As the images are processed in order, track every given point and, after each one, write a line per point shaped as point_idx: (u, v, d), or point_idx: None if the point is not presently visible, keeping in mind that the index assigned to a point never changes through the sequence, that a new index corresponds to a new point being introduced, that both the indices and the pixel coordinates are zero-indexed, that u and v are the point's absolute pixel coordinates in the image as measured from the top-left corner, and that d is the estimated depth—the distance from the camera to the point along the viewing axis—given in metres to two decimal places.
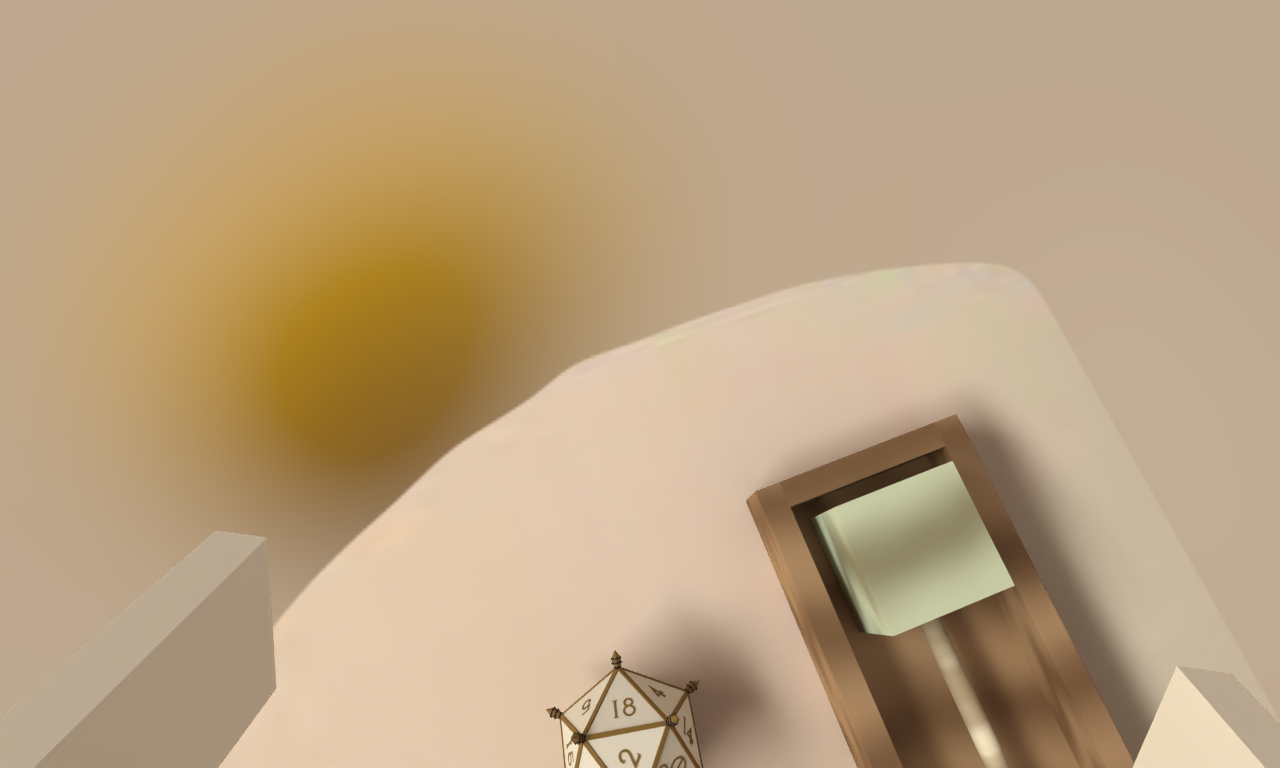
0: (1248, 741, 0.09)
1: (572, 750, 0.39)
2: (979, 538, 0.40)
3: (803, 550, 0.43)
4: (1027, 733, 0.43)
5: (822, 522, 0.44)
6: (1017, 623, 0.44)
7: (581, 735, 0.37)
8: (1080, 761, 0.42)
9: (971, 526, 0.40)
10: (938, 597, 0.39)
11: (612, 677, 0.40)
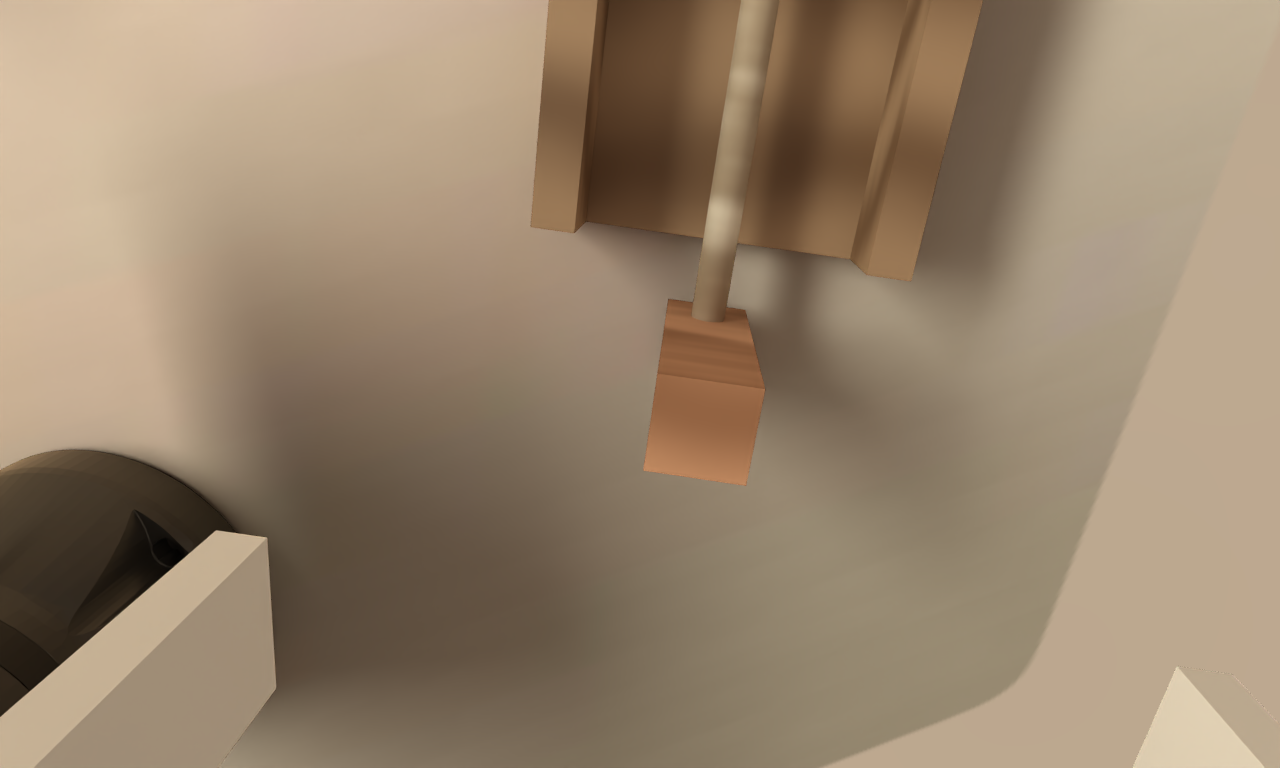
0: (1249, 740, 0.09)
1: None
2: None
3: None
4: None
5: None
6: None
7: None
8: None
9: None
10: None
11: None
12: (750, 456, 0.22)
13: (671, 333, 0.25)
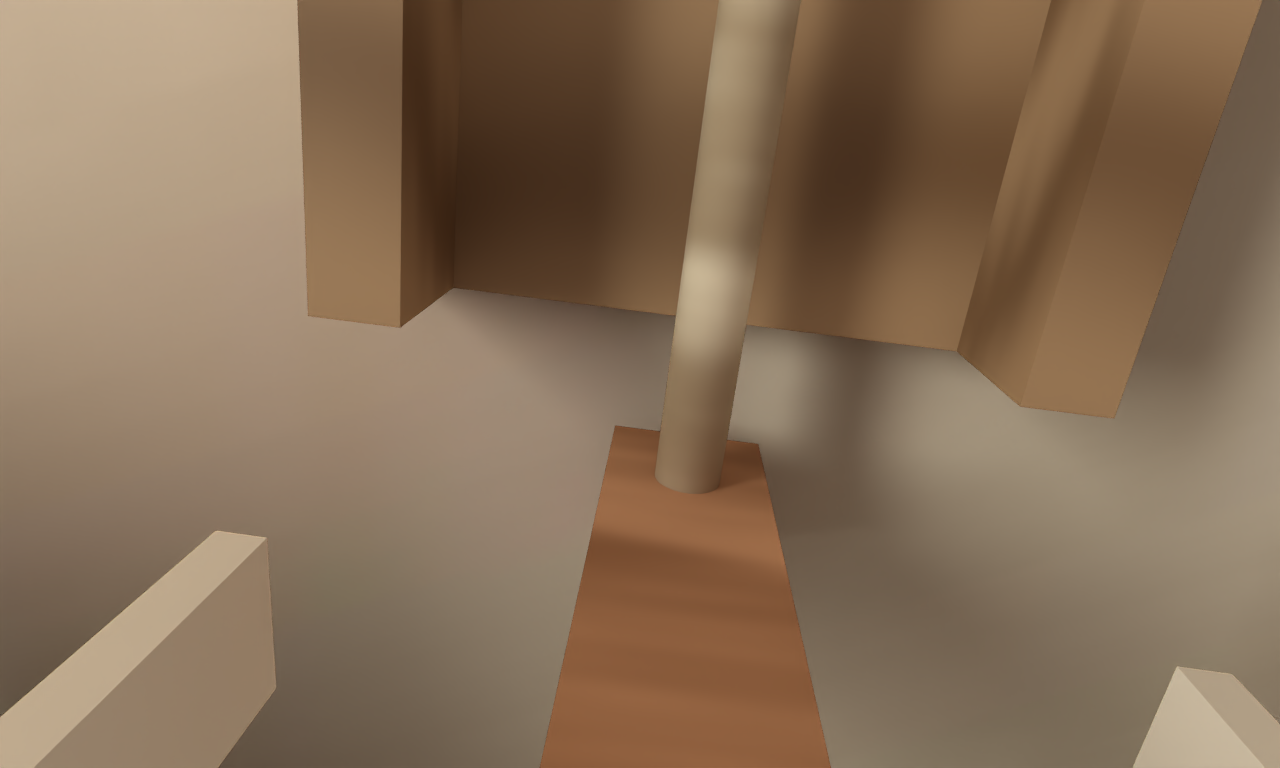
0: (1250, 741, 0.09)
1: None
2: None
3: None
4: None
5: None
6: None
7: None
8: None
9: None
10: None
11: None
12: None
13: (606, 552, 0.11)
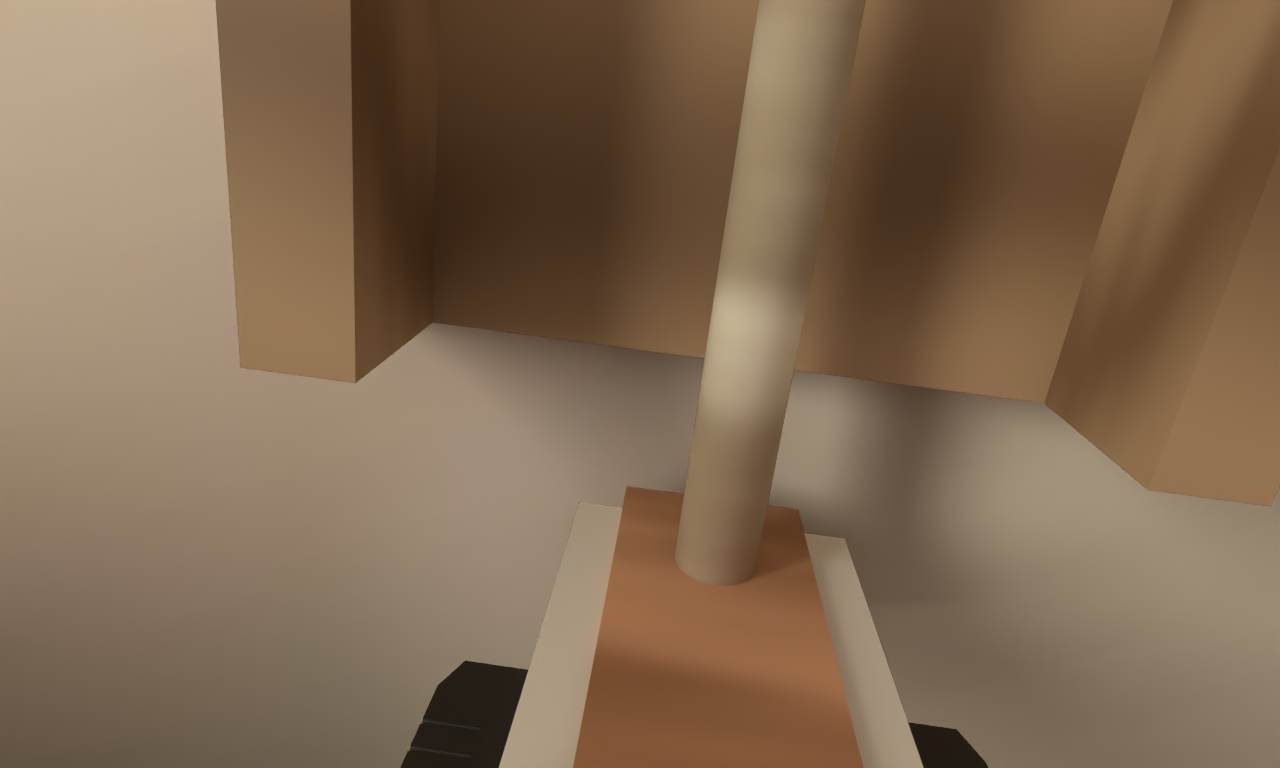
0: (817, 578, 0.12)
1: None
2: None
3: None
4: None
5: None
6: None
7: None
8: None
9: None
10: None
11: None
12: None
13: (613, 681, 0.09)
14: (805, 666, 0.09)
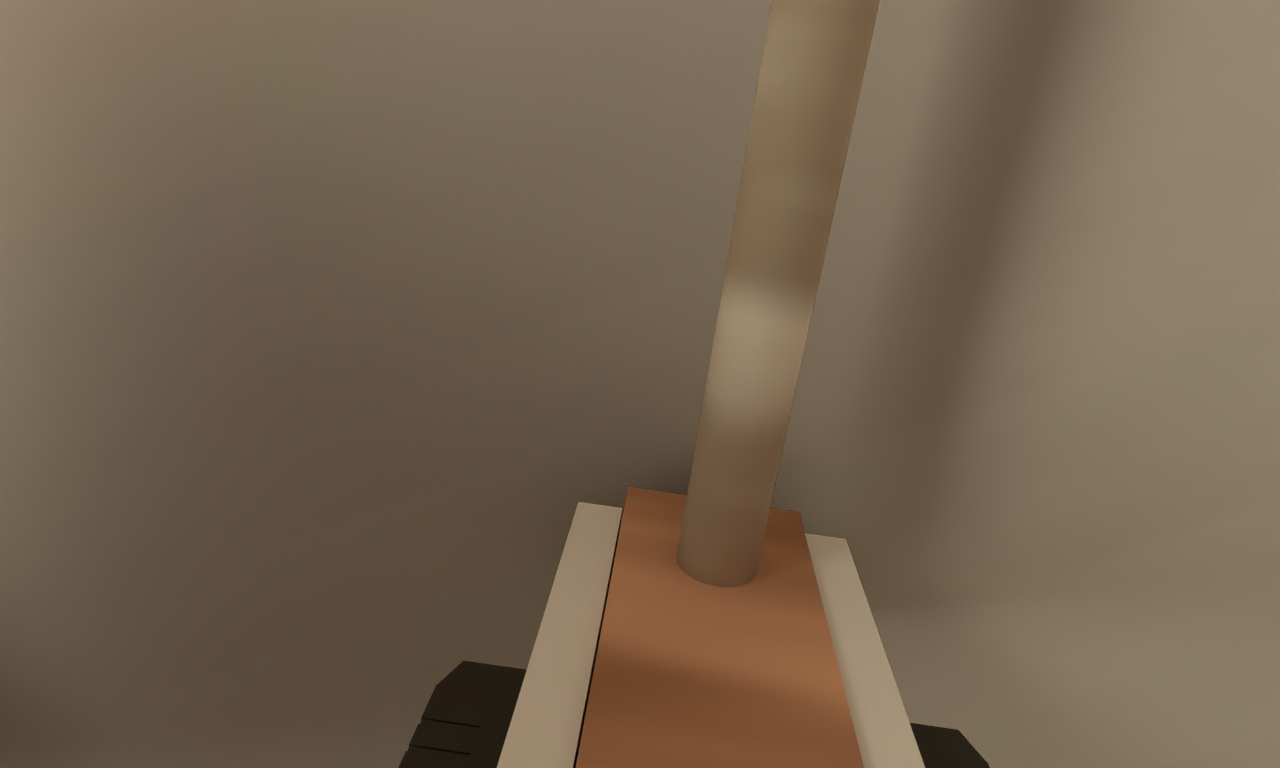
0: (818, 578, 0.12)
1: None
2: None
3: None
4: None
5: None
6: None
7: None
8: None
9: None
10: None
11: None
12: None
13: (615, 682, 0.09)
14: (807, 669, 0.09)
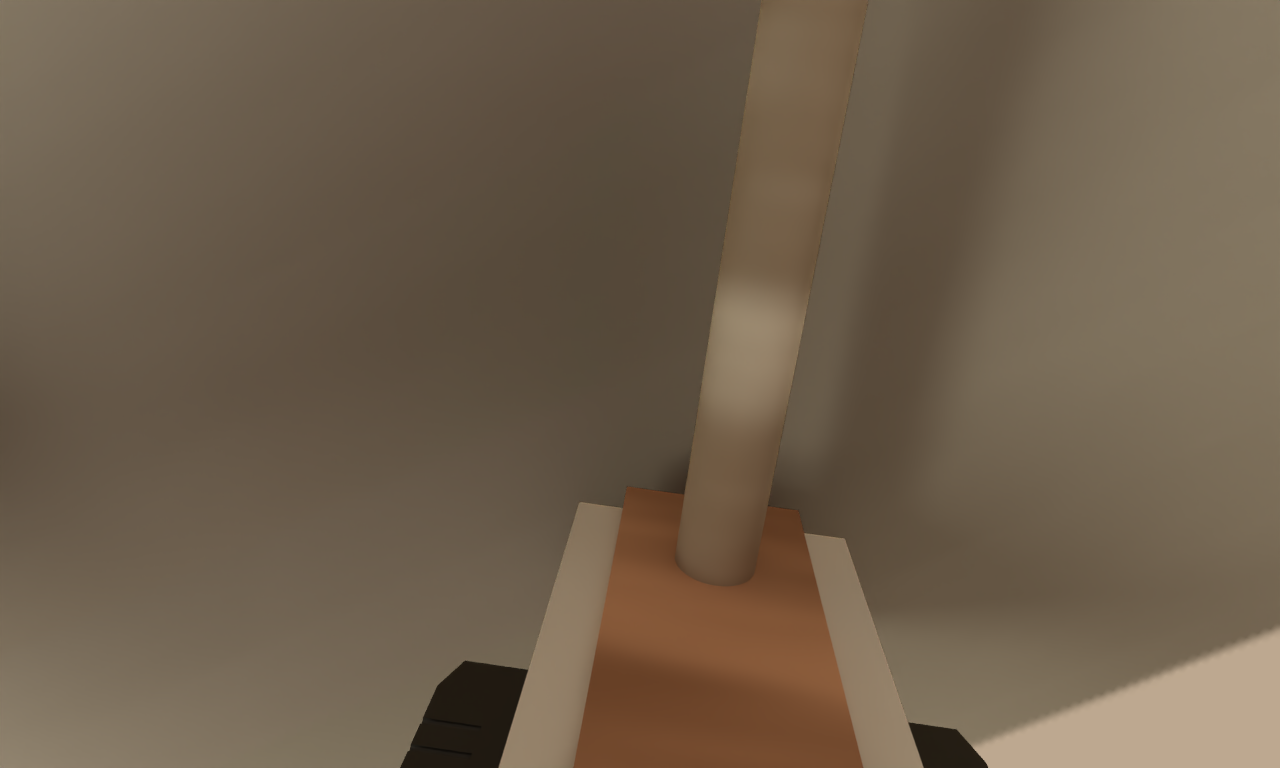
0: (816, 578, 0.12)
1: None
2: None
3: None
4: None
5: None
6: None
7: None
8: None
9: None
10: None
11: None
12: None
13: (613, 682, 0.09)
14: (805, 667, 0.09)
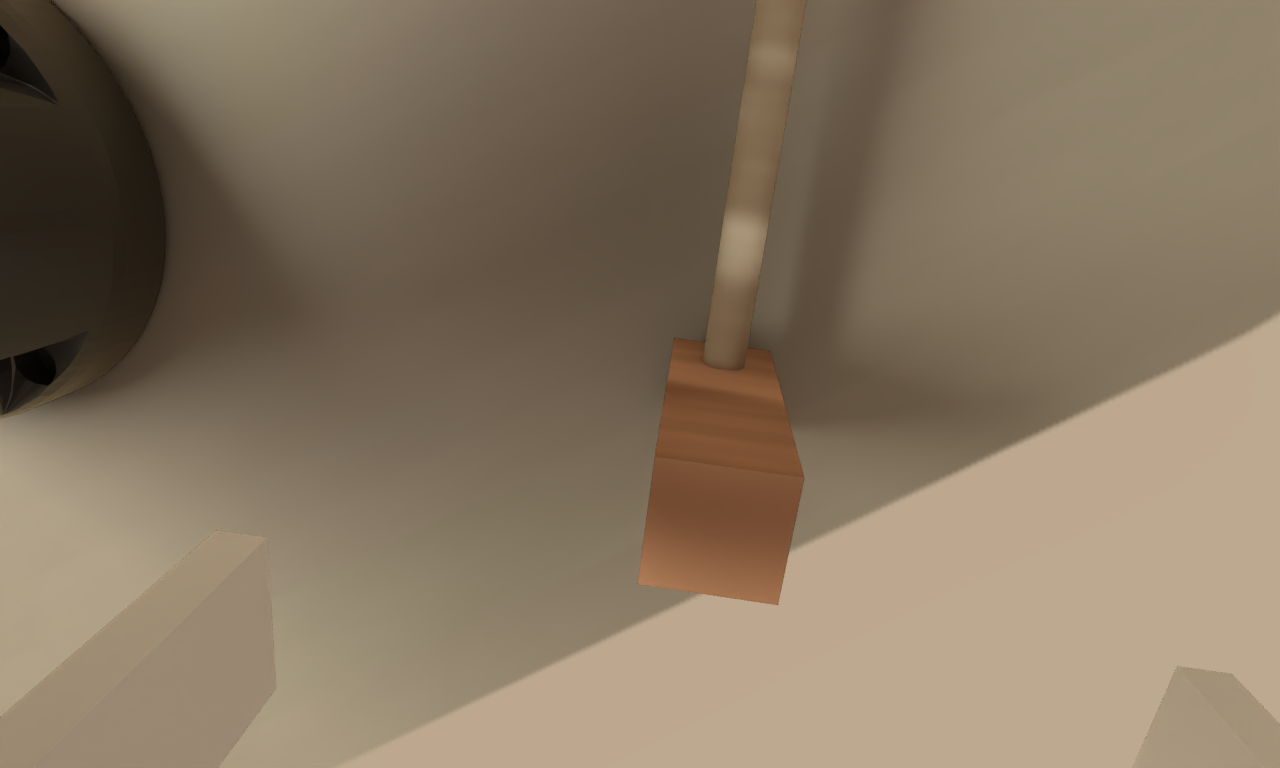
0: (1248, 741, 0.09)
1: None
2: None
3: None
4: None
5: None
6: None
7: None
8: None
9: None
10: None
11: None
12: (783, 566, 0.16)
13: (676, 389, 0.19)
14: (766, 392, 0.20)
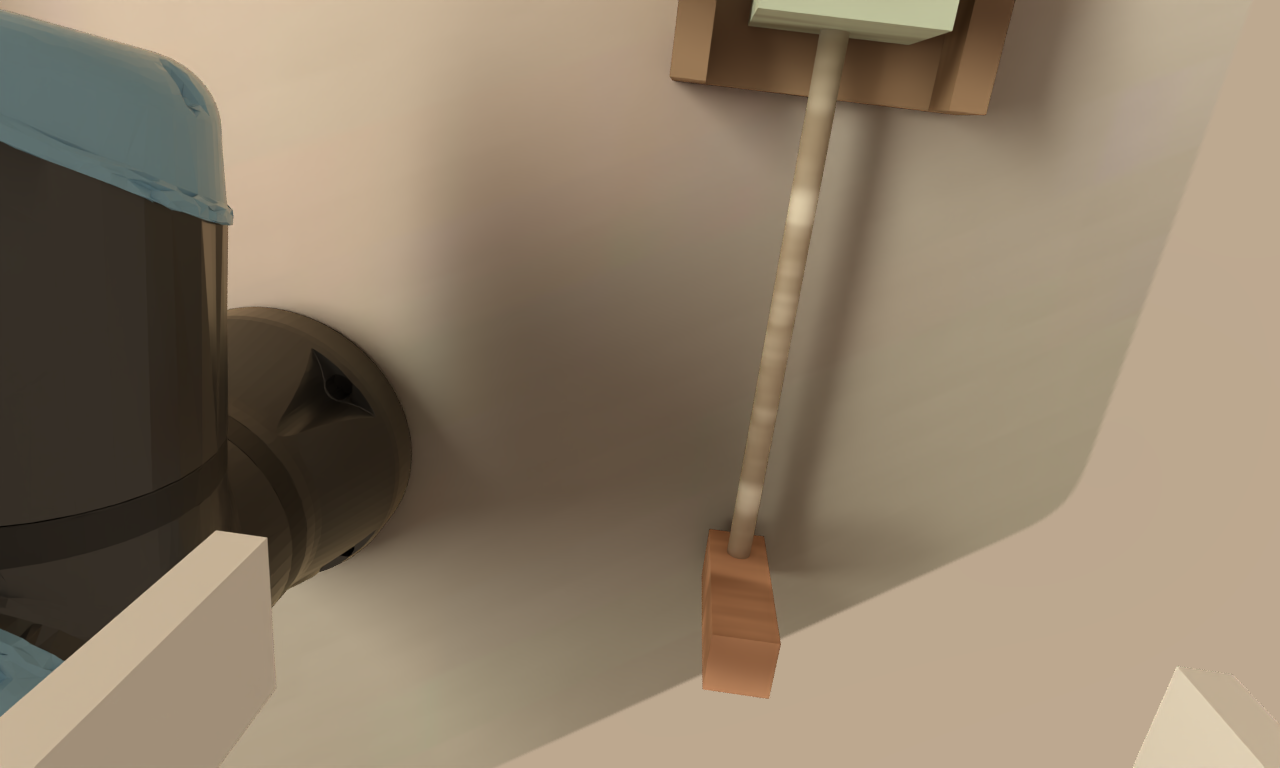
0: (1248, 741, 0.09)
1: None
2: None
3: None
4: None
5: None
6: None
7: None
8: None
9: None
10: None
11: None
12: (771, 681, 0.34)
13: (716, 580, 0.37)
14: (762, 578, 0.38)
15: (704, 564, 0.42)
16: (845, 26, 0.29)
